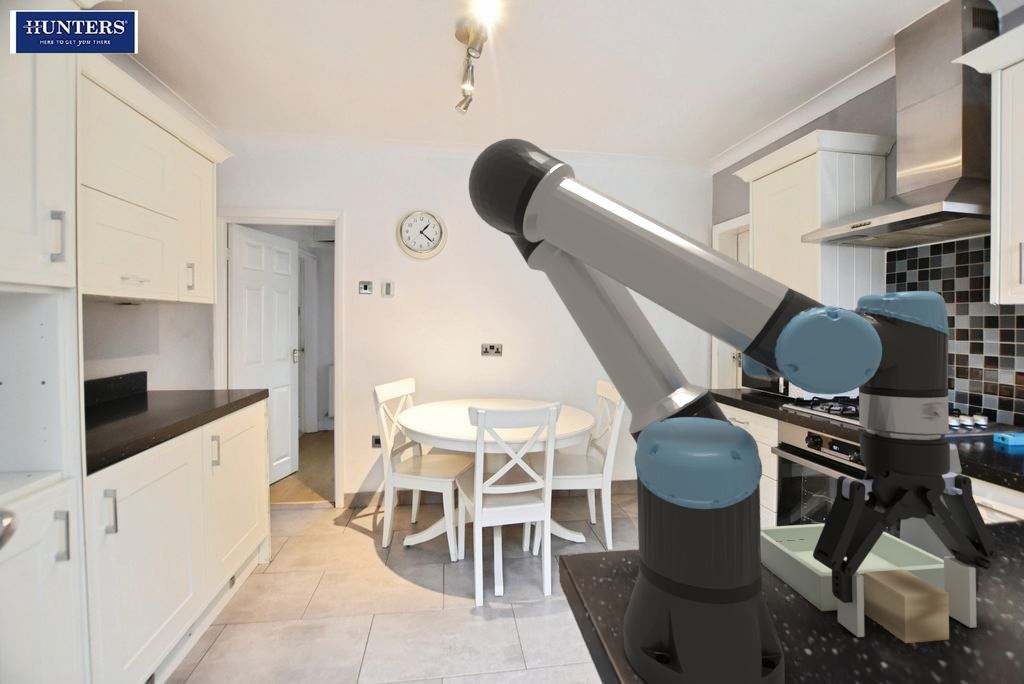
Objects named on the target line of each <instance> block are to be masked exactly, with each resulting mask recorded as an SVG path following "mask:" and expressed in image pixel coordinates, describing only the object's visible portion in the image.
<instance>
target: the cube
mask: <svg viewBox="0 0 1024 684" xmlns="http://www.w3.org/2000/svg"><path fill="white" fill-rule="evenodd" d="M864 603H865V608H864V616H867V618H870V619H871V620H872V621H874V622H875V623H876V622H877V624H878V625H879V624H880V625H879V626H881V625H882V626H883V627H882V626H881V627H882V628H883V629H885V630H887V631H888V632H889V633H891V634H892V635H893V636H895V637H897V638H898V639H899V640H900V641H902V642H903V643H905V644H908V643H909V644H910V643H911V644H912V643H921V642H923V643H924V642H934V641H935V642H936V641H943V640H944V641H946V640H947V641H949V640H950V621H949V620H950V619H949V618H950V616H949V600H948V593H947V592H945V591H943V590H941V589H939V588H938V587H936V586H934V585H932V584H930V583H928V582H926V581H925V580H923V579H921V578H919V577H917V576H915V575H913V574H912V573H910V572H908V571H906V570H904V569H901V570H887V571H873V572H864Z"/></svg>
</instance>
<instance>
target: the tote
mask: <svg viewBox="0 0 1024 684" xmlns="http://www.w3.org/2000/svg"><path fill="white" fill-rule="evenodd" d="M824 525H825V523H812V524H811V523H810V524H809V523H808V524H796V525H795V524H794V525H793V524H792V525H781V526H779V525H778V526H761V563H762V564H761V565H763V566H764V567H765V568H766V567H767V568H766V569H768V570H769V571H770V572H771V573H773V574H774V575H775V576H776V577H778V578H779V579H780V580H782V581H783V582H784V583H786V584H787V585H788V586H789V587H791V588H792V590H794V591H795V592H797V593H798V594H799V595H800V596H802V598H804V599H806V600H807V601H808V602H810V604H812V605H813V606H815V607H816V608H817V609H818V610H819V611H821V612H826V611H827V612H829V611H838V609H837V598H836V597H835V596H834V595H833V592H832V570H831V569H830V568H828V567H826V566H825V565H823V564H822V563H820V562H819V561H817V560H816V559H814V557H813V552H814V550H815V547H816V545H817V542H818V540H819V537H820V535H821V532H822V530H823V527H824ZM799 539H804V540H799ZM787 540H795V541H787ZM776 541H782V542H776ZM763 542H764V543H763ZM844 560H845V561H846V560H847V557H845V558H844ZM901 569H904V570H906V571H908V572H910V573H912V574H913V575H915V576H917V577H919V578H921V579H923V580H925V581H926V582H928V583H930V584H932V585H934V586H936V587H938V588H939V589H941V590H943V591H944V560H943V559H941V558H938V557H936V556H934V555H932V554H930V553H928V552H926V551H924V550H922V549H919V548H917V547H915V546H913V545H911V544H909V543H907V542H905V541H903V540H901V539H900V538H898V537H896V536H894V535H892V534H890V533H888V532H886V531H884V532H883V533H882V535H881V536H880V538H879V539H878V541H877V542H876V543H875V545H874V546H873V548H872V549H871V551H870V552H869V554H868V555H867V556H866V558H865V559H864V561H863V562H862V564H861V565H860V567H859V568H858V570H857V571H856V572H857V573H859V574H860V575H862V576H863V584H864V572H873V571H887V570H901ZM864 609H865V603H864Z"/></svg>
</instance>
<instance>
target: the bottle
mask: <svg viewBox="0 0 1024 684" xmlns="http://www.w3.org/2000/svg"><path fill="white" fill-rule="evenodd" d="M941 436H943V437H945V436H946V433H945V434H942V435H941ZM945 438H946V437H945ZM959 455H960V454H959V451H958V448H957V445H955V444H952V443H950V470H949V472H952V473H956V474H960V475H962V471H963V469H962V467H961V461H960V457H959ZM940 500H941V501H942V502H943V504H944V505H945V506H946V504H945V501H944V499H943V497H942V495H941V496H940ZM946 507H947V506H946ZM947 509H948V508H947ZM950 517H951V516H950ZM951 518H952V517H951ZM899 526H900V527H899V528H900V530H899V531H900V532H899V539H901V540H903V541H905V542H907V543H909V544H911V545H913V546H915V547H917V548H919V549H922V550H924V551H926V552H928V553H930V554H932V555H934V556H936V557H938V558H941V559H943V560H944V557H946V556H950V557H952V558H955V556H953V555H952V554H951V553H950V552H949V550H948V549H947V548H946V547H945V545H944V544H943V543H942V541H941V540H940V539H939V538H938V536H937V535H936V534H935V533H934V531H933V530H932V529H931V528H930V526H929V525H928V524H927V523H926V521H925V520H924V519H919V518H914V517H912V518H909V519H906V520H900V525H899Z"/></svg>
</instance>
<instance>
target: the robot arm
mask: <svg viewBox="0 0 1024 684" xmlns="http://www.w3.org/2000/svg"><path fill="white" fill-rule="evenodd" d="M468 191H469V193H468V194H469V198H470V202H471V204H472V207H473V208H474V210H475V212H476V213H477V215H478V216H479V218H480V219H481V220H482V221H484V222H485V223H486V224H487V225H488V226H489V227H492V228H493V229H496V230H497V231H499V232H501V233H503V234H505V235H508V236H509V237H510V239H511V241H512V242H513V244H514V245H515V247H516V248H517V251H519V253H520V254H521V256H522V257H523V260H524V262H525V263H526V264H527V266H528V267H529V269H531V270H534V271H538V272H539V271H540V272H543V273H544V274H545V276H546V278H547V279H548V280H549V282H550V284H551V285H552V287H553V289H554V290H555V293H556V294H557V295H558V296H559V298H560V300H561V302H562V304H563V305H564V306H565V308H566V310H567V312H568V313H569V314H570V317H571V318H572V319H573V321H574V322H575V324H576V326H577V327H578V329H579V331H580V332H581V334H582V336H583V337H584V338H585V340H586V342H587V343H588V345H589V347H590V349H591V350H592V352H593V353H594V355H595V357H596V358H597V360H598V362H599V363H600V365H601V367H602V368H603V370H604V371H605V373H606V375H607V377H608V378H609V379H610V382H611V383H612V385H613V386H614V387H615V389H616V390H617V392H618V394H619V396H620V397H621V398H622V401H623V402H624V403H625V405H626V407H627V409H628V410H629V412H630V414H631V420H630V424H629V428H628V432H629V433H630V435H631V437H632V438H633V440H634V441H635V443H636V451H635V454H634V466H635V471H636V483H637V484H636V485H637V486H636V487H637V489H636V492H637V496H636V497H637V498H636V499H637V527H638V528H637V529H638V532H637V533H638V534H637V535H638V536H637V537H638V539H637V540H638V574H637V577H636V580H635V584H634V587H633V589H632V593H631V596H630V597H629V598H630V599H629V602H628V605H627V608H626V610H625V614H624V618H623V648H624V652H625V656H626V658H627V660H628V662H629V664H630V665H631V667H632V669H633V670H634V671H635V672H636V673H637V675H638V676H640V678H641V679H643V680H644V681H645V682H646V683H647V684H786V683H785V682H786V677H785V676H786V675H785V671H786V670H785V655H784V650H783V649H784V648H783V647H782V644H781V641H780V638H779V636H778V632H777V630H776V626H775V624H774V622H773V619H772V616H771V615H772V614H771V613H770V610H769V607H768V605H767V602H766V600H765V596H764V594H763V581H762V580H763V579H762V577H763V576H762V571H763V570H762V564H761V527H762V526H761V525H762V524H761V523H762V522H761V484H760V482H761V478H762V476H763V464H762V461H761V460H762V459H761V456H760V453H759V446H758V442H757V441H756V439H755V438H754V436H753V435H752V434H751V433H750V432H749V431H747V429H745V428H743V427H741V426H739V425H735V424H733V423H732V421H731V420H729V419H728V418H727V417H726V415H725V413H724V411H723V410H722V409H721V408H720V406H719V404H718V403H717V402H716V401H717V400H715V398H714V397H713V395H712V393H710V391H709V389H708V388H707V387H704V386H701V385H697V384H693V383H691V382H689V381H688V379H687V378H686V376H685V374H684V373H683V372H682V370H681V368H680V367H679V366H678V364H677V362H676V361H675V359H674V358H673V356H672V355H671V353H670V351H669V350H668V348H667V347H666V346H665V344H664V343H663V341H662V340H661V338H660V336H659V335H658V334H657V332H656V330H655V329H654V328H653V325H652V324H651V323H650V322H649V319H648V318H647V317H646V315H645V314H644V312H643V311H642V308H641V307H640V306H639V305H638V303H637V302H636V300H635V299H634V297H633V296H632V294H631V292H630V291H629V290H632V291H633V292H635V293H637V294H639V295H640V296H642V297H644V298H645V299H647V300H649V301H651V302H652V303H654V304H656V305H658V306H659V307H661V308H663V309H664V310H667V311H668V312H670V313H672V314H674V315H675V316H676V317H678V318H681V319H682V320H684V321H685V322H688V323H689V324H691V325H693V326H694V327H697V328H698V329H700V330H701V331H703V332H705V333H707V334H708V335H710V336H712V337H713V338H716V339H717V340H719V341H721V342H722V343H724V344H726V345H727V346H729V347H732V348H733V349H734V350H736V351H739V352H740V353H741V362H742V369H743V372H744V373H745V374H746V375H747V376H749V377H752V378H753V377H754V378H755V377H756V378H767V379H769V380H770V379H771V380H773V379H777V378H780V379H782V378H783V379H785V380H786V381H788V382H789V383H790V384H792V385H793V386H795V387H797V388H798V389H801V390H803V391H804V392H807V393H811V394H817V395H839V394H844V393H847V392H851V391H854V390H856V389H858V393H859V394H858V395H859V396H858V397H859V398H858V399H859V401H858V403H859V404H858V406H859V407H858V408H859V409H858V411H859V415H858V417H859V418H858V419H859V425H860V426H861V427H862V428H865V429H863V430H862V431H861V432H860V433H859V450H860V451H859V457H860V461H861V462H862V464H863V465H864V468H865V474H864V476H863V479H854V478H853V479H852V478H850V477H847V476H845V475H841V476H839V477H838V478H837V481H836V495H835V497H834V500H833V503H832V506H831V508H830V511H829V513H828V515H827V519H826V520H825V522H824V524H825V525H824V527H823V530H822V532H821V535H820V537H819V540H818V542H817V545H816V547H815V550H814V552H813V557H814V559H816V560H817V561H819V562H820V563H822V564H823V565H825V566H826V567H828V568H830V569H831V570H832V592H833V595H834V596H835V597H836V598H837V609H838V610H837V622H838V623H839V624H840V625H842V626H843V627H844V628H845V629H846V630H848V631H849V632H851V633H852V634H853V635H854V636H856V637H857V638H864V637H865V608H864V584H863V576H862V575H860V574H859V573H857V572H856V571H857V570H858V568H859V567H860V565H861V564H862V562H863V561H864V559H865V558H866V556H867V555H868V554H869V552H870V551H871V549H872V548H873V546H874V545H875V543H876V542H877V541H878V539H879V538H880V536H881V535H882V533H883V532H885V530H886V528H888V527H893V526H894V525H895V524H896V523H897V521H901V520H906V519H909V518H912V517H914V518H919V519H924V520H925V521H926V523H927V524H928V525H929V526H930V528H931V529H932V530H933V531H934V533H935V534H936V535H937V536H938V538H939V539H940V540H941V541H942V543H943V544H944V545H945V547H946V548H947V549H948V550H949V552H950V553H951V554H952V555H953V556H955V558H952V557H950V556H946V557H944V591H945V592H947V593H948V600H949V617H951V618H952V619H955V620H956V621H958V622H960V623H961V624H963V625H965V626H967V627H968V628H970V629H971V628H977V626H978V625H977V593H979V592H978V591H979V589H980V588H979V587H980V584H979V583H980V580H979V573H980V572H979V568H980V569H982V570H985V571H987V570H989V569H990V568H991V567H992V562H991V560H996V559H997V558H998V555H999V551H998V549H997V547H996V545H995V542H994V540H993V538H992V536H991V534H990V531H989V530H988V526H987V525H986V523H985V520H984V517H983V516H982V513H981V511H980V509H979V507H978V505H977V503H976V501H975V500H976V499H975V498H974V496H973V494H974V493H973V485H972V484H973V483H972V479H971V477H969V476H967V475H962V474H956V473H952V472H949V470H950V444H951V442H950V440H948V438H947V437H943V436H941V435H942V434H945V435H946V434H947V433H948V432H950V431H949V430H950V429H949V427H950V425H949V383H948V382H949V337H950V336H951V335H950V332H951V331H950V330H949V320H948V311H947V307H946V306H947V305H946V301H945V299H944V297H943V296H942V295H941V294H940V293H937V292H935V291H929V290H927V291H926V290H919V291H918V290H913V291H897V292H895V291H894V292H883V293H873V294H865V295H861V296H860V298H858V300H857V304H856V306H857V307H856V308H855V311H850V310H848V309H845V308H842V307H838V306H837V307H836V306H832V305H830V306H829V305H828V306H827V305H825V304H823V303H821V302H819V301H817V300H815V299H813V298H811V297H809V296H807V295H806V294H804V293H802V292H798V291H797V290H795V289H792V288H790V287H789V286H787V284H785V283H784V284H783V282H782V283H781V282H780V281H778V280H776V279H774V278H772V277H770V276H767V275H766V274H764V273H762V272H760V271H759V270H756V269H754V268H752V267H750V266H748V265H746V264H744V263H743V262H740V261H738V260H736V259H734V258H733V257H730V256H728V255H726V254H724V253H723V252H720V251H719V250H716V249H715V248H712V247H711V246H708V245H706V244H705V243H703V242H701V241H699V240H697V239H695V238H693V237H691V236H689V235H687V234H685V233H683V232H681V231H679V230H677V229H676V228H674V227H671V226H669V225H667V224H665V223H664V222H662V221H659V220H658V219H655V218H653V217H652V216H649V215H648V214H646V213H644V212H642V211H639V210H637V209H635V208H634V207H631V206H629V205H628V204H625V203H624V202H621V201H619V200H618V199H616V198H614V197H613V196H610V195H608V194H607V193H604V192H602V191H600V190H598V189H597V188H594V187H592V186H591V185H588V184H586V183H584V182H583V181H580V180H578V179H576V174H575V170H574V169H573V167H572V166H571V165H570V164H569V163H566V162H564V161H562V160H560V159H558V158H556V157H554V156H553V155H551V154H549V153H548V152H546V151H544V150H543V149H541V148H540V147H539V146H537V145H535V144H533V143H532V142H530V141H527V140H525V139H521V138H505V139H501V140H499V141H496V142H494V143H492V144H490V145H489V146H487V147H486V148H485V149H484V150H482V151H481V153H480V154H479V155H478V156H477V157H476V159H475V160H474V162H473V165H472V167H471V170H470V173H469V178H468ZM941 495H942V497H943V499H944V501H945V504H946V506H947V507H946V506H945V505H944V504H943V502H942V501H941V500H940V496H941ZM875 508H877V509H878V510H879V511H878V510H876V509H875ZM947 508H948V509H947ZM950 516H951V517H952V518H951V517H950ZM845 557H847V560H846V561H845V560H844V558H845Z"/></svg>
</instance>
